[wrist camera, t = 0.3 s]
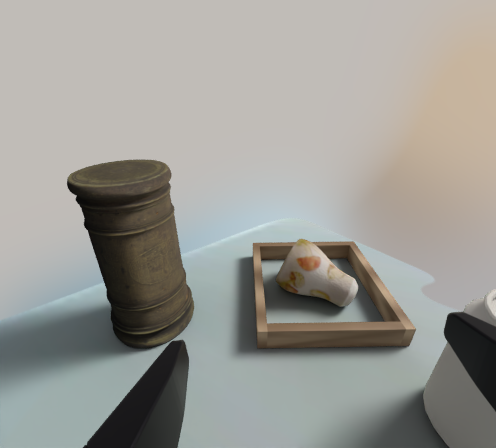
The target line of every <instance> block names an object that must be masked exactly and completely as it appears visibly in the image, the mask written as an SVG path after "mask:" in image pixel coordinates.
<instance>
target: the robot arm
mask: <svg viewBox="0 0 496 448" xmlns="http://www.w3.org/2000/svg"><path fill="white" fill-rule="evenodd" d="M444 335H445V338H446V340H447V341H448V343H449V345H450V346H451V348H452V349H453V351H454V352H455V354H456V356H457V357H458V359H459V360H460V362H461V363H462V365H463V367H464V368H465V370H466V371H467V373H468V374H469V376H470V378H471V379H472V381H473V382H474V384H475V385H476V386H477V388H478V389H479V391H480V392H481V393H482V395H483V396H484V397H485V399H486V400H487V401H488V402H489V404H490V405H491V406H492V408H493V409H494V410H495V412H496V326H494V325H492V324H489V323H487V322H485V321H483V320H480V319H478V318H476V317H474V316H472V315H469V314H467V313H465V312H453V313H449V314H448V316H447V320H446V324H445V328H444ZM188 369H189V357H188V353H187V349H186V345H185V342H184V341H183V340H178V341H172V342H171V343H170V344H169V345H168V346H167V347H166V348H165V350H164V351H163V352H162V353H161V354H160V356H159V357H158V358H157V359H156V360H155V362H154V363H153V364H152V365H151V366H150V368H149V369H148V370H147V371H146V372H145V374H144V375H143V376H142V377H141V378H140V380H139V381H138V382H137V383H136V384H135V386H134V387H133V388H132V389H131V390H130V392H129V393H128V394H127V395H126V396H125V398H124V399H123V400H122V401H121V402H120V404H119V405H118V406H117V407H116V408H115V410H114V411H113V412H112V413H111V414H110V416H109V417H108V418H107V419H106V420H105V422H104V423H103V424H102V425H101V426H100V428H99V429H98V430H97V431H96V432H95V434H94V435H93V436H92V437H91V438H90V440H89V441H88V442H87V445H85V446H84V447H83V448H177V447H178V442H179V437H180V432H181V427H182V422H183V417H184V409H185V400H186V389H187V379H188Z"/></svg>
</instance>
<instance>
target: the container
mask: <svg viewBox="0 0 496 448" xmlns="http://www.w3.org/2000/svg"><path fill="white" fill-rule="evenodd" d="M170 179H171V171H170V169H169V167H168V166H167V165H166V164H165V163H163V162H160V161H155V160H124V161H115V162H108V163H102V164H98V165H93V166H89V167H86V168H83V169H81V170H78V171H76V172H74V173H72V174H70V176H69V177H68V181H67V186H68V189H69V190H70V191H71V192H72V193H73V194H75V195H77V197H76V201H77V203H78V204H79V205H80V207H81V208H82V212H83V215H84V218H85V219H84V220H85V221H84V226H85V228H86V229H87V230H88V233H89V236H90V239H91V243H92V246H93V249H94V252H95V255H96V258H97V261H98V264H99V267H100V271H101V274H102V277H103V280H104V283H105V286H106V289H107V299H108V301H109V302H110V304H111V307H112V310H111V321H112V323H113V330H114V333H115V335H116V336H117V338H118V339H119V340H120V341H121V342H122V343H124V344H126V345H128V346H130V347H134V348H150V347H155V346H158V345H161V344H164V343H166V342H168V341H170V340H172V339H173V338H175V337H176V336H177V335H179V334H180V333H181V332H182V331H183V330H184V329H185V328H186V327H187V325H188V324H189V322H190V320H191V318H192V315H193V311H194V301H193V298H192V293H191V290H190V288H189V286H188V285H187V284H186V272H185V270H184V268H183V264H182V260H181V254H180V248H179V242H178V235H177V229H176V223H175V217H174V206H173V205H172V203H171V198H170V188H171V186H170V184H169V181H170Z"/></svg>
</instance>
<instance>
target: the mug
mask: <svg viewBox="0 0 496 448" xmlns="http://www.w3.org/2000/svg"><path fill="white" fill-rule="evenodd" d="M276 282H277V283H278V284H279V285H280V286H281V287H282V288H283V289H285V290H287V291H289V292H292V293H296V294H301V295H308V296H315V297H320V298H324V299H326V300H328V301H330V302H332V303H334V304H336V305H338V306H339V307H342V306H347V305H349V304H350V303H351V302H352V300H353V299H354V298H355V296H356V294H357V291H358V285H357V283H356V280H355V279H354V278H353V277H351V276H349V275H347V274H346V273H344V272H342V271H341V270H339V269H338V268H337V267H336V266H335V265H334V264H333V263H332V262H331V261H330V260H329V259H328V258H327V256H326V255H325V254H324V253H323V252H322V251H321V250H320V249H319V248H318V247H317V246H316V245H314V244H313V243H311V242H309V241H307V240H304V239H299V240H298V241H297V242H296V243H295V245H294V246H293V247H292V249H291V251H290V252H289V254H288V255H287V257H286V259H285V261H284V263H283V265H282V267H281V269H280V271H279V273H278V275H277V278H276Z"/></svg>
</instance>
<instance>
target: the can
mask: <svg viewBox="0 0 496 448" xmlns="http://www.w3.org/2000/svg"><path fill="white" fill-rule="evenodd" d="M463 312H465V313H467V314H469V315H472V316H474V317H476V318H478V319H480V320H483V321H485V322H487V323H489V324H492V325H494V326H496V290H492V291H490V292H489V293H488V294H487V295H485V297H484V298H481V299H476V300H473V301H472V302H470V303H469V304H468V305H467V306H466V307H465V309H464V311H463ZM423 399H424V405H425V410H426V413H427V415H428V417H429V419H430V421H431V423H432V425H433V427H434V428H435V430H436V431H437V432H438V434H439V435H440V436H441V438H442V439H443V440H444V442H445V443H446V444H447V445H448V446H449V447H450V448H496V412H495V410H494V409H493V408H492V406H491V405H490V404H489V402H488V401H487V400H486V399H485V397H484V396H483V395H482V393H481V392H480V391H479V389H478V388H477V386H476V385H475V384H474V382H473V381H472V379H471V378H470V376H469V374H468V373H467V371H466V370H465V368H464V367H463V365H462V363H461V362H460V360H459V359H458V357H457V356H456V354H455V352H454V351H453V349H452V348H451V346H450V345H449V343H448V342H447V344H446V346H445V348H444V350H443V352H442V354H441V356H440V358H439V360H438V362H437V364H436V366H435V368H434V370H433V372H432V374H431V376H430V378H429V380H428V382H427V384H426V386H425V390H424V394H423Z"/></svg>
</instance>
